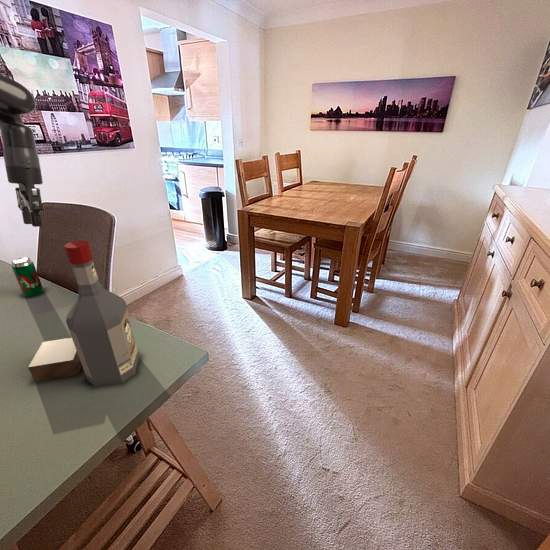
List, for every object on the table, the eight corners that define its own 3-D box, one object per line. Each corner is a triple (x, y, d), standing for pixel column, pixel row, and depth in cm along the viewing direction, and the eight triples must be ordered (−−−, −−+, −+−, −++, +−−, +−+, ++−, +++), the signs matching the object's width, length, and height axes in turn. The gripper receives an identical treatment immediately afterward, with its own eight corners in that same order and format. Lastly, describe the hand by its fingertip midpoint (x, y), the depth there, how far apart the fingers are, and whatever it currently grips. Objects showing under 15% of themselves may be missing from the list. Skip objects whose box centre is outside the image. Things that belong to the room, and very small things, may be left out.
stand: (36, 385, 62) (27, 367, 60) (50, 358, 69) (42, 341, 67) (79, 377, 64) (73, 360, 62) (89, 352, 71) (83, 335, 69)
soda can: (40, 289, 96) (26, 255, 90) (48, 294, 93) (34, 259, 88) (21, 297, 92) (6, 261, 86) (29, 301, 90) (14, 265, 84)
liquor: (85, 390, 61) (33, 256, 47) (99, 359, 69) (58, 236, 55) (133, 384, 63) (96, 252, 49) (141, 354, 71) (112, 233, 57)
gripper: (-1, 165, 84) (10, 224, 88) (11, 163, 76) (23, 228, 80) (32, 168, 90) (41, 222, 94) (47, 166, 81) (56, 226, 85)
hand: (33, 225), depth 87 cm, fingers open, 8 cm apart
